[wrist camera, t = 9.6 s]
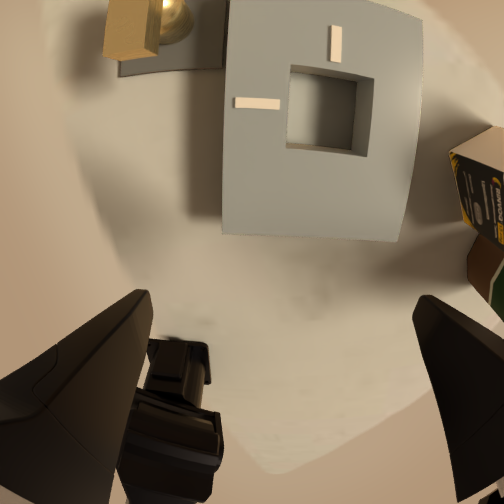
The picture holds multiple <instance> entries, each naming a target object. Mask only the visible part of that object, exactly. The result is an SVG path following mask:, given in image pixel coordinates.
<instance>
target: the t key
mask: <svg viewBox="0 0 504 504" xmlns="http://www.w3.org/2000/svg"><path fill="white" fill-rule="evenodd" d="M194 23H195V19H194V15H193V13H192V11H191V10H190V8H189V7H188V5H187V4H186V2H185V1H184V0H109V6H108V12H107V19H106V27H105V35H104V45H103V56H104V57H108V58H111V59H115V60H118V61H125V60H131V59H137V58H144V57H151V56H158V52H159V44H162V45H171V44H175V43H178V42H180V41H182V40H183V39H185V38H186V37H187V36H188V35H189V34H190V33H191V31H192V29H193V27H194Z"/></svg>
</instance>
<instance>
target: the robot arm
mask: <svg viewBox="0 0 504 504" xmlns="http://www.w3.org/2000/svg"><path fill="white" fill-rule="evenodd" d="M152 320H153V307H152V302H151V297H150V293H149V291H148V290H143V289H135V290H134V291H132V292H131V293H129V294H128V295H126V296H125V297H123V298H122V299H120V300H119V301H117V302H116V303H114V304H113V305H111V306H110V307H108V308H107V309H105V310H104V311H102V312H101V313H100V314H98V315H97V316H95V317H94V318H92V319H91V320H89V321H88V322H87V323H85V324H84V325H82V326H81V327H79V328H78V329H76V330H75V331H73V332H72V333H71V334H69V335H68V336H66V337H65V338H64V339H62V340H61V341H59V342H58V343H57V344H55V345H54V346H52V347H51V348H49V349H48V350H47V351H45V352H44V353H42V354H41V355H39V356H38V357H36V358H35V359H33V360H32V361H30V362H29V363H27V364H25V365H24V366H22V367H21V368H19V369H17V370H16V371H14V372H12V373H11V374H9V375H7V376H6V377H4V378H3V379H1V380H0V504H109V499H110V493H111V488H112V483H113V479H114V473H115V468H116V469H117V472H118V475H119V478H120V481H121V483H122V486H123V488H124V491H125V493H126V496H127V499H126V504H196V503H197V502H200V503H204V502H205V501H206V500H207V499H208V498H209V496H210V495H211V493H212V485H213V477H214V473H215V472H216V471H217V470H218V468H219V467H220V464H221V462H222V458H223V453H224V441H223V433H222V425H221V417H220V413H219V412H215V411H214V412H212V411H208V410H204V409H201V401H202V393H203V386H204V384H205V385H209V384H211V371H210V360H209V349H208V345H207V344H204V343H192V342H180V341H169V340H159V339H150V338H149V335H150V330H151V325H152ZM412 320H413V324H414V327H415V331H416V335H417V338H418V342H419V346H420V350H421V354H422V357H423V360H424V363H425V366H426V369H427V372H428V375H429V378H430V381H431V384H432V388H433V391H434V394H435V398H436V401H437V405H438V408H439V412H440V415H441V419H442V423H443V427H444V431H445V436H446V440H447V444H448V449H449V453H450V460H451V465H452V471H453V477H454V483H455V491H456V498H457V502H458V503H459V502H461V501H462V500H464V499H467V498H468V497H470V496H472V495H474V494H476V493H478V492H479V491H481V490H483V489H484V488H486V487H488V486H489V485H491V484H493V483H494V482H496V484H497V487H498V488H497V489H495V490H494V491H493V492H491V493H490V494H488V495H487V496H485V497H484V498H482V499H480V500H479V503H478V504H504V339H502V338H501V337H500V336H498V335H496V334H495V333H493V332H492V331H490V330H489V329H487V328H486V327H484V326H482V325H481V324H479V323H478V322H476V321H474V320H473V319H471V318H469V317H468V316H466V315H465V314H463V313H461V312H460V311H458V310H456V309H455V308H453V307H451V306H450V305H448V304H446V303H445V302H443V301H441V300H439V299H438V298H436V297H434V296H433V295H422V296H420V298H419V300H418V302H417V305H416V307H415V309H414V312H413V315H412ZM146 352H147V355H148V359H149V362H150V367H149V370H148V373H147V376H146V380H145V383H144V386H143V389H141V388H138V387H137V383H138V380H139V376H140V373H141V370H142V367H143V363H144V359H145V356H146Z"/></svg>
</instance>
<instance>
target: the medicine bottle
mask: <svg viewBox="0 0 504 504" xmlns="http://www.w3.org/2000/svg"><path fill="white" fill-rule="evenodd" d="M449 158H450V161H451V165H452V169H453V173H454V177H455V181H456V185H457V190H458V194H459V199H460V204H461V210H462V216H463V220H464V222H465V223H467V224H468V225H469V226H471V227H472V228H473V229H475V230H476V231H477V232H479V233H480V234H481V235H483V236H484V237H485V238H487V239H488V240H489V241H490V242H492V243H493V244H494V245H495V246H497V247H498V248H499V249H500V250H502V251H503V252H504V128H501V127H498V126H493V127H491V128H490V129H488V130H486V131H484V132H482V133H481V134H479V135H477V136H475V137H473V138H471V139H470V140H468V141H466V142H464V143H462V144H461V145H459V146H457V147H455V148H453V149H451V150H450V151H449Z"/></svg>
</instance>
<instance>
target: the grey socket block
mask: <svg viewBox="0 0 504 504" xmlns="http://www.w3.org/2000/svg"><path fill="white" fill-rule="evenodd" d="M290 72H297V73H306V74H313V75H320V76H327V77H333V78H339V79H344V80H349V81H354V82H357V90H356V104H355V116H354V127H353V137H352V146H351V150H347V149H340V148H332V147H323V146H314V145H304V144H292V143H286V135H287V121H288V105H289V88H290ZM422 87H423V24H422V20H421V19H419V18H416V17H414V16H411V15H409V14H406V13H404V12H401V11H398V10H395V9H393V8H390V7H387V6H384V5H381V4H377V3H374V2H371V1H367V0H230V12H229V26H228V42H227V60H226V80H225V104H224V135H223V182H222V234H233V235H260V236H285V237H307V238H328V239H348V240H366V241H384V242H397V241H398V237H399V234H400V230H401V226H402V221H403V217H404V213H405V209H406V204H407V199H408V195H409V190H410V184H411V179H412V174H413V168H414V162H415V155H416V149H417V141H418V133H419V125H420V115H421V103H422Z"/></svg>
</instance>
